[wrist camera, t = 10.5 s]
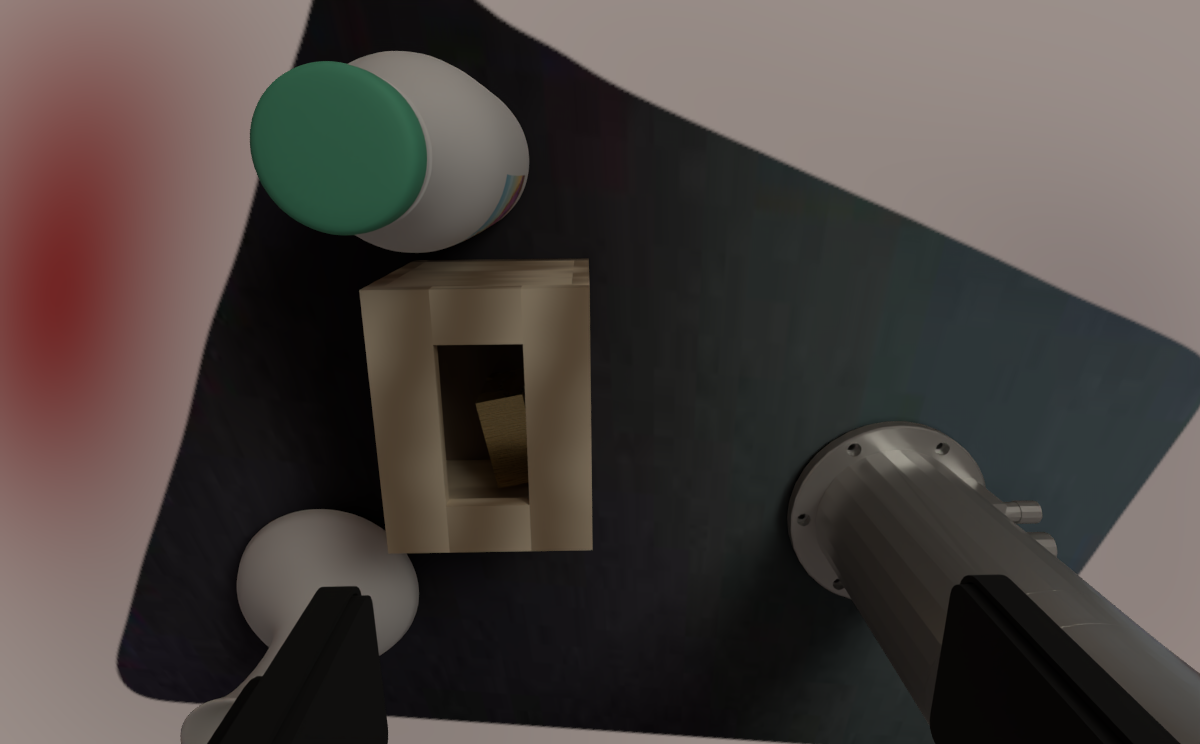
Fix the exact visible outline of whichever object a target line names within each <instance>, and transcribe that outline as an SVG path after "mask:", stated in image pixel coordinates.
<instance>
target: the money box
mask: <svg viewBox="0 0 1200 744" xmlns="http://www.w3.org/2000/svg"><path fill="white" fill-rule="evenodd" d="M359 293H360V302H361V311H362V320H363V329H364V338H365V348H366V357H367V366H368V375H369V384H370V393H371V402H372V411H373V420H374V429H375V438H376V447H377V456H378V465H379V474H380V483H381V492H382V501H383V510H384V519H385V529H386V538H387V547H388V554H393V553H451V552H509V551H566V550H592V467H591V377H590V288H589V261H588V259H484V260H414V261H412V262H410V263H409V264H407V265H405V266H403V267H401V268H399V269H397V270H396V271H394V272H392V273H390V274H388V275H386V276H385V277H383V278H381V279H379V280H377V281H375V282H373V283H372V284H370V285H368V286H366V287H364V288H362V289H361V290H359ZM519 369H524V382H525V406H526V431H527V455H528V480H529V483H524V484H518V485H513V486H508V487H503V488H498V485H497V481H496V478H495V474H494V470H493V467H492V463H491V459H490V455H489V452H488V448H487V444H486V441H485V437H484V433H483V430H482V426H481V422H480V419H479V415H478V411H477V407H476V404H475V403H476V401H477V399H478V397H479V395H480V393H481V391H482V388H483V386H484V384H485V382H486V380H487V378H488V376H489V375H494V374H499V373H504V372H509V371H514V370H519Z"/></svg>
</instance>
